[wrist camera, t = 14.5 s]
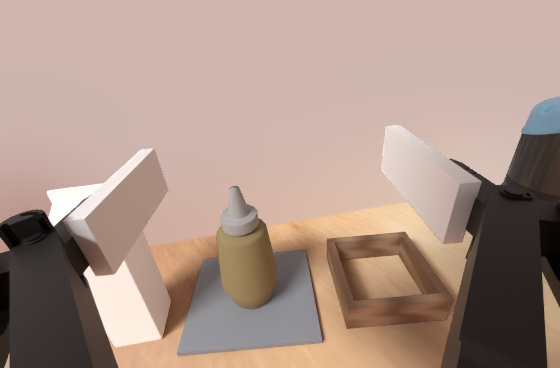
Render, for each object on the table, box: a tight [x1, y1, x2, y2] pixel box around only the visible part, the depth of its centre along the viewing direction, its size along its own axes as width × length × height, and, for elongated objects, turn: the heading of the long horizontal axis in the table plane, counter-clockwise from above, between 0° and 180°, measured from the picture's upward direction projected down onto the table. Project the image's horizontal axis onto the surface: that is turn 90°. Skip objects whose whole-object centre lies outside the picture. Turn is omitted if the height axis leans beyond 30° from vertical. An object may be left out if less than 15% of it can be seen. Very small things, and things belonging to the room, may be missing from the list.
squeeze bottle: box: [216, 186, 278, 309], centre depth 36 cm, size 8×8×18 cm
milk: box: [47, 183, 171, 347], centre depth 32 cm, size 6×6×22 cm
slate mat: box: [177, 250, 322, 356], centre depth 40 cm, size 18×16×1 cm
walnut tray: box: [327, 232, 453, 329], centre depth 39 cm, size 13×13×4 cm
